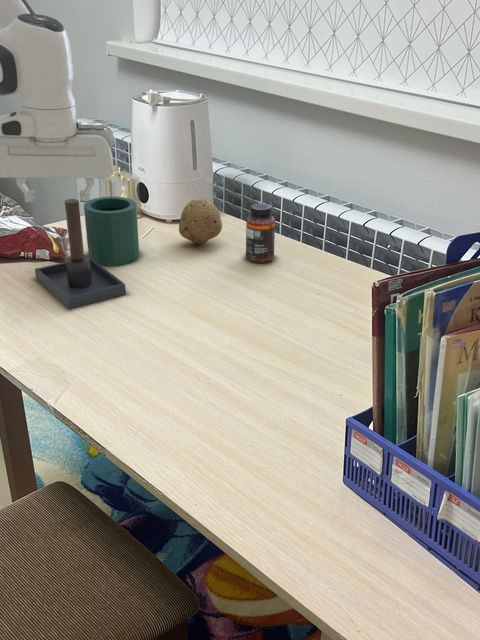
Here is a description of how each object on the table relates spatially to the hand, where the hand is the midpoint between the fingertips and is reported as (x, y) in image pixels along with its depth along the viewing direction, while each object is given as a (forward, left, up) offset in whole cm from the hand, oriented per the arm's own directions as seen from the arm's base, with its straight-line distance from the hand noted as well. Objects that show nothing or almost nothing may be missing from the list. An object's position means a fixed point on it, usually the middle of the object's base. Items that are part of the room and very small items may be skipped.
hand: (57, 201), depth 124 cm
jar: (-7, +13, -16) cm, 22 cm away
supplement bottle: (+10, +38, -16) cm, 43 cm away
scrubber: (+3, +1, -15) cm, 16 cm away
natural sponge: (-3, +32, -16) cm, 36 cm away
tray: (+3, +1, -16) cm, 16 cm away
